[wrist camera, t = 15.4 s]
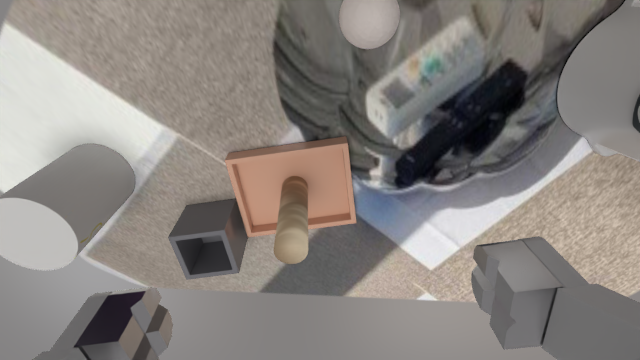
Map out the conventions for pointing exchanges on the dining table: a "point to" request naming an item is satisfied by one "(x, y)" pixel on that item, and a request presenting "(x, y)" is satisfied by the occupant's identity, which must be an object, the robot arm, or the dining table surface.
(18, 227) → the grey patterned cylinder
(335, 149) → the tray
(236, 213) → the holder
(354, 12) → the egg
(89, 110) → the dining table surface
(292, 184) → the dowel
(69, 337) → the robot arm
